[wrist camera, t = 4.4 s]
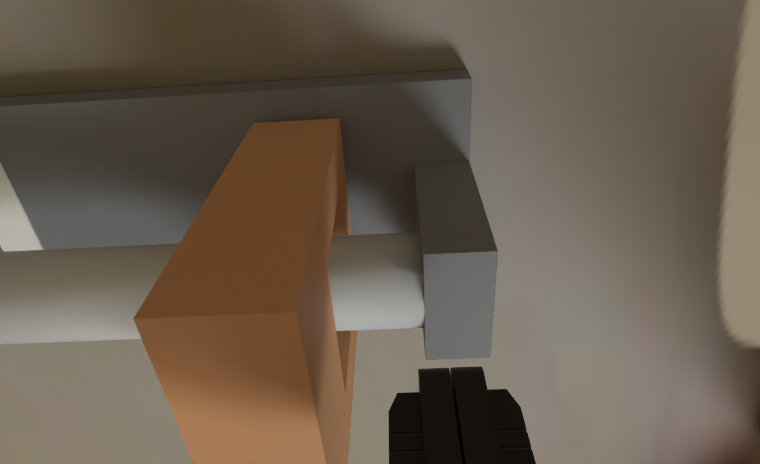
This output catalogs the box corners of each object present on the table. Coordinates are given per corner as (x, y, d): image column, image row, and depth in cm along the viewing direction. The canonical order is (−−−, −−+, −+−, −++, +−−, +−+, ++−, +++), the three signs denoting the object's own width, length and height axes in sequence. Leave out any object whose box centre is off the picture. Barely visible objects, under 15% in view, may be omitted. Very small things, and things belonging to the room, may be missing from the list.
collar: (339, 118, 18) (296, 312, 9) (359, 299, 22) (341, 545, 14) (253, 122, 18) (133, 318, 9) (289, 302, 22) (229, 548, 14)
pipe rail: (467, 68, 18) (505, 149, 12) (461, 291, 24) (486, 422, 18) (-181, 108, 19) (-436, 199, 13) (-47, 312, 25) (-187, 443, 19)
